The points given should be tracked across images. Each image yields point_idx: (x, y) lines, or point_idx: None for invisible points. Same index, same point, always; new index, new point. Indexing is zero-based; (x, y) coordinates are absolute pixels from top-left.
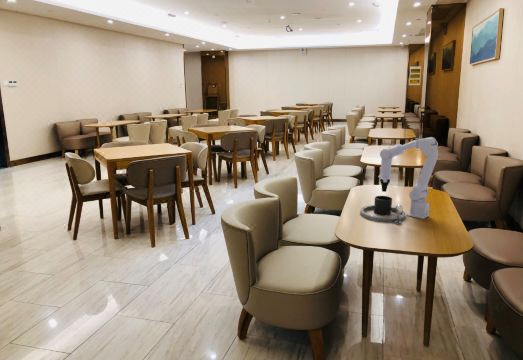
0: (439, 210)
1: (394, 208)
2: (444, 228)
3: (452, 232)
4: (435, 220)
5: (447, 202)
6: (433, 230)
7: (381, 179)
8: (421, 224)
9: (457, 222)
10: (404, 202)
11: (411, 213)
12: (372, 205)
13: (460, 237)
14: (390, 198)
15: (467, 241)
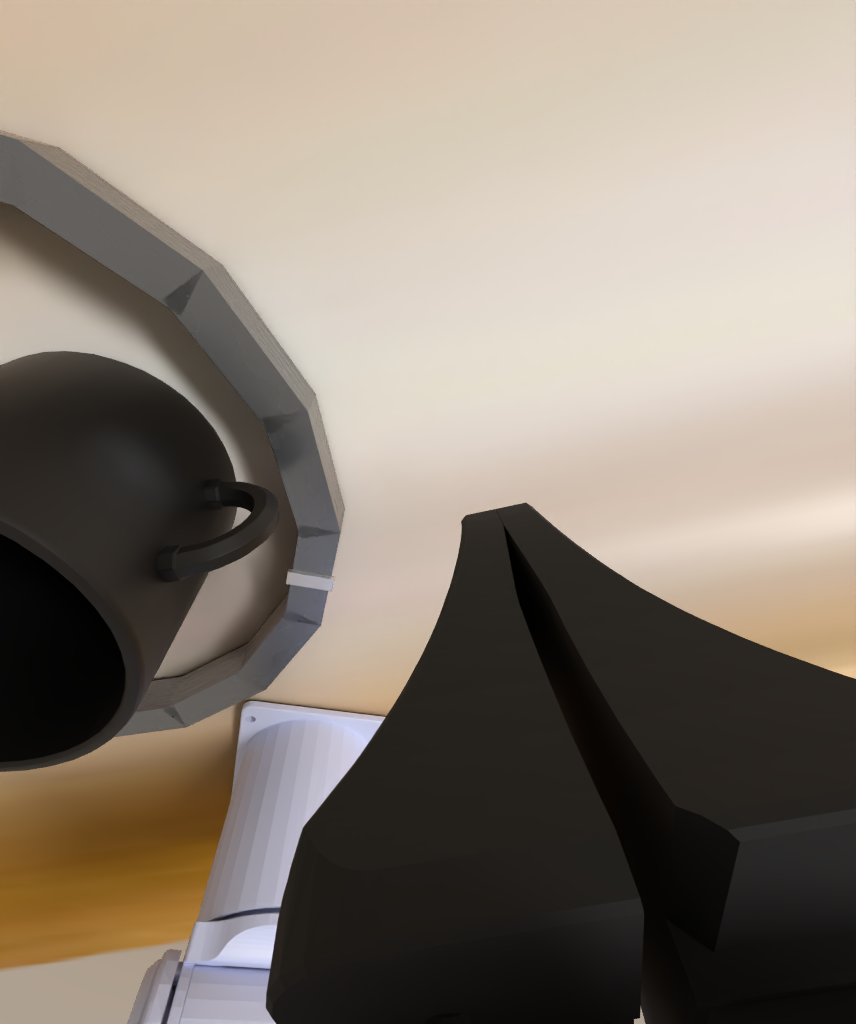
0: None
1: (287, 609)
2: (131, 894)
3: (91, 922)
4: None
5: None
6: (19, 868)
7: (848, 879)
8: (83, 808)
9: None
10: (762, 593)
11: (250, 751)
12: (193, 276)
13: (38, 949)
14: (104, 720)
15: (4, 968)
